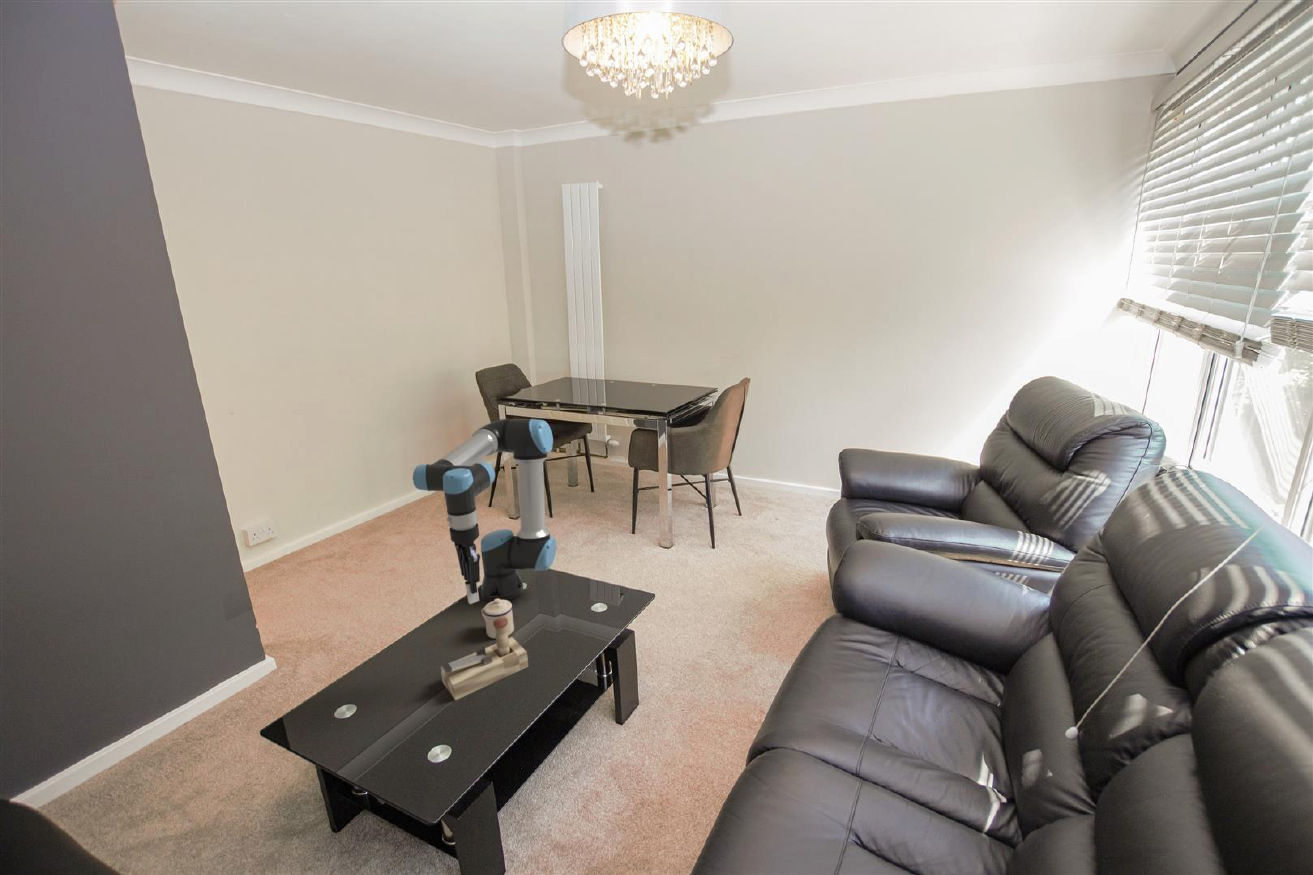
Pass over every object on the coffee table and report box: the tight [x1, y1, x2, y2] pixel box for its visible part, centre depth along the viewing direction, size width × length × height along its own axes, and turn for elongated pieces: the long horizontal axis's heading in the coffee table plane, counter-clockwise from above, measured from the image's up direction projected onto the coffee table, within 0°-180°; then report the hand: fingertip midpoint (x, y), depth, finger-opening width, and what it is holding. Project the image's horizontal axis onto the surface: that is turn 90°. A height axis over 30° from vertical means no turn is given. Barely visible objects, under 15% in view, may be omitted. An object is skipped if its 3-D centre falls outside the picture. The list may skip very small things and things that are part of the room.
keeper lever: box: [441, 653, 485, 673], centre depth 165 cm, size 3×12×1 cm, turn 129°
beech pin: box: [493, 617, 510, 658], centre depth 172 cm, size 4×4×15 cm
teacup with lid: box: [481, 599, 515, 640], centre depth 190 cm, size 12×9×12 cm
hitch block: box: [440, 636, 529, 701], centre depth 169 cm, size 10×22×7 cm, turn 129°
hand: (473, 601), depth 166 cm, fingers closed
